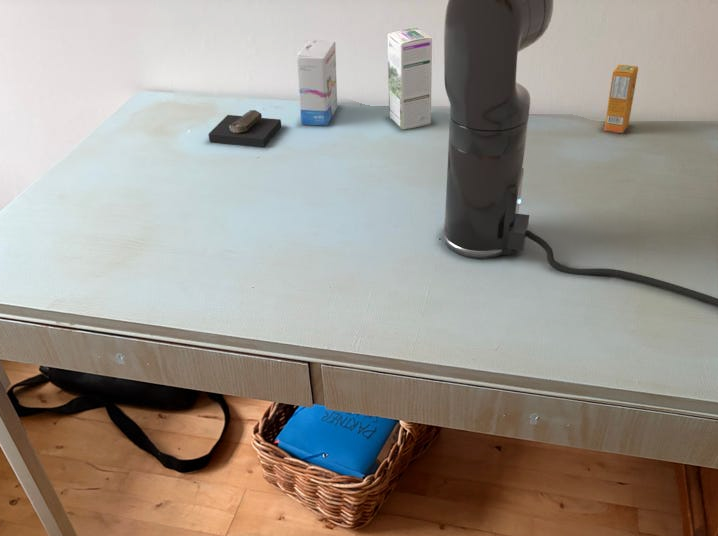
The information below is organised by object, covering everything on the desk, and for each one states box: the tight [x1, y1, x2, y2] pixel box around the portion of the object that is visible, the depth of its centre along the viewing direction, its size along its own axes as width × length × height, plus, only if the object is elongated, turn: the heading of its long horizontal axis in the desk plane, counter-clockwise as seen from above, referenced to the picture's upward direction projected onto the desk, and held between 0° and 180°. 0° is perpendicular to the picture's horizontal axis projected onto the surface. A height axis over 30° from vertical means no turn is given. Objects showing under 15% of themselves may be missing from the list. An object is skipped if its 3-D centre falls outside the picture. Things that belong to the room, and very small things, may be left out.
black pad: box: [208, 114, 283, 148], centre depth 127 cm, size 10×8×2 cm
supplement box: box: [603, 64, 639, 134], centre depth 121 cm, size 3×3×10 cm
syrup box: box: [387, 27, 433, 130], centre depth 125 cm, size 6×6×14 cm
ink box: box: [296, 39, 338, 127], centre depth 129 cm, size 9×5×12 cm, turn 168°
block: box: [229, 109, 263, 133], centre depth 126 cm, size 4×6×2 cm, turn 154°
